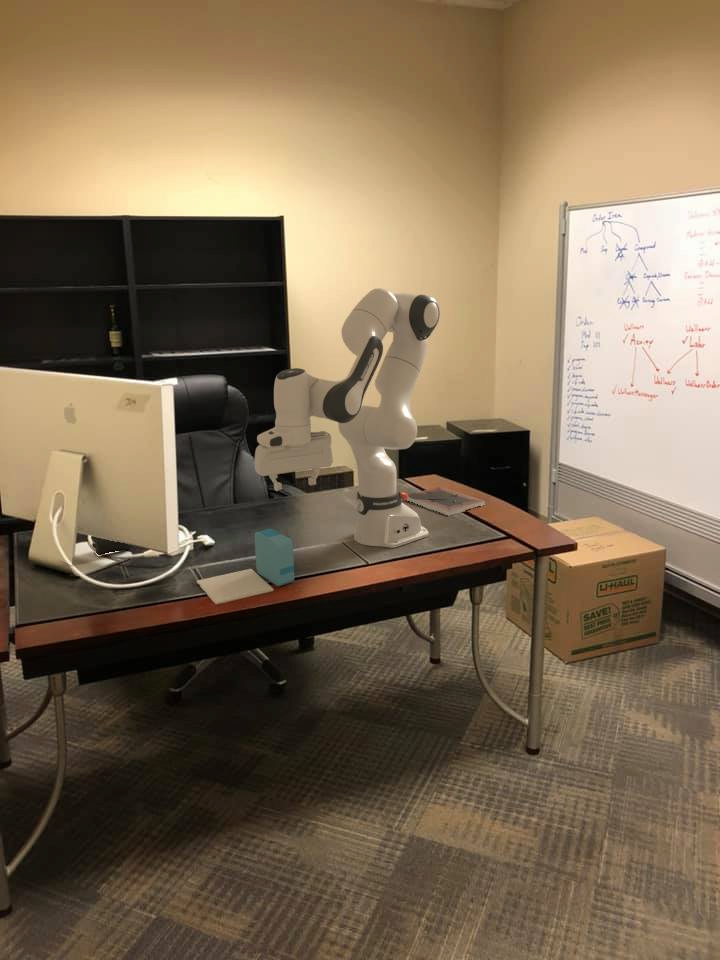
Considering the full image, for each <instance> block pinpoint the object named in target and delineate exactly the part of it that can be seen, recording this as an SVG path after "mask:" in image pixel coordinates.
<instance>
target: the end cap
mask: <svg viewBox="0 0 720 960" xmlns="http://www.w3.org/2000/svg"><path fill="white" fill-rule="evenodd" d="M90 538H91V540H93V541H94V542H92V543H91V546H92V548H93V547H94V548H95V549H94V548H93V549H94V550H96V553H97V554H98V555H101V554H105V553H109V552H115V551H121V552H125V551H129V550H131V549H132V548H133V547H134V545H133V546H132V545H128V544H125V543H120V542H114V541H109V540H105V539H101V538H96V537H92V536H91V537H90Z"/></svg>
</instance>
